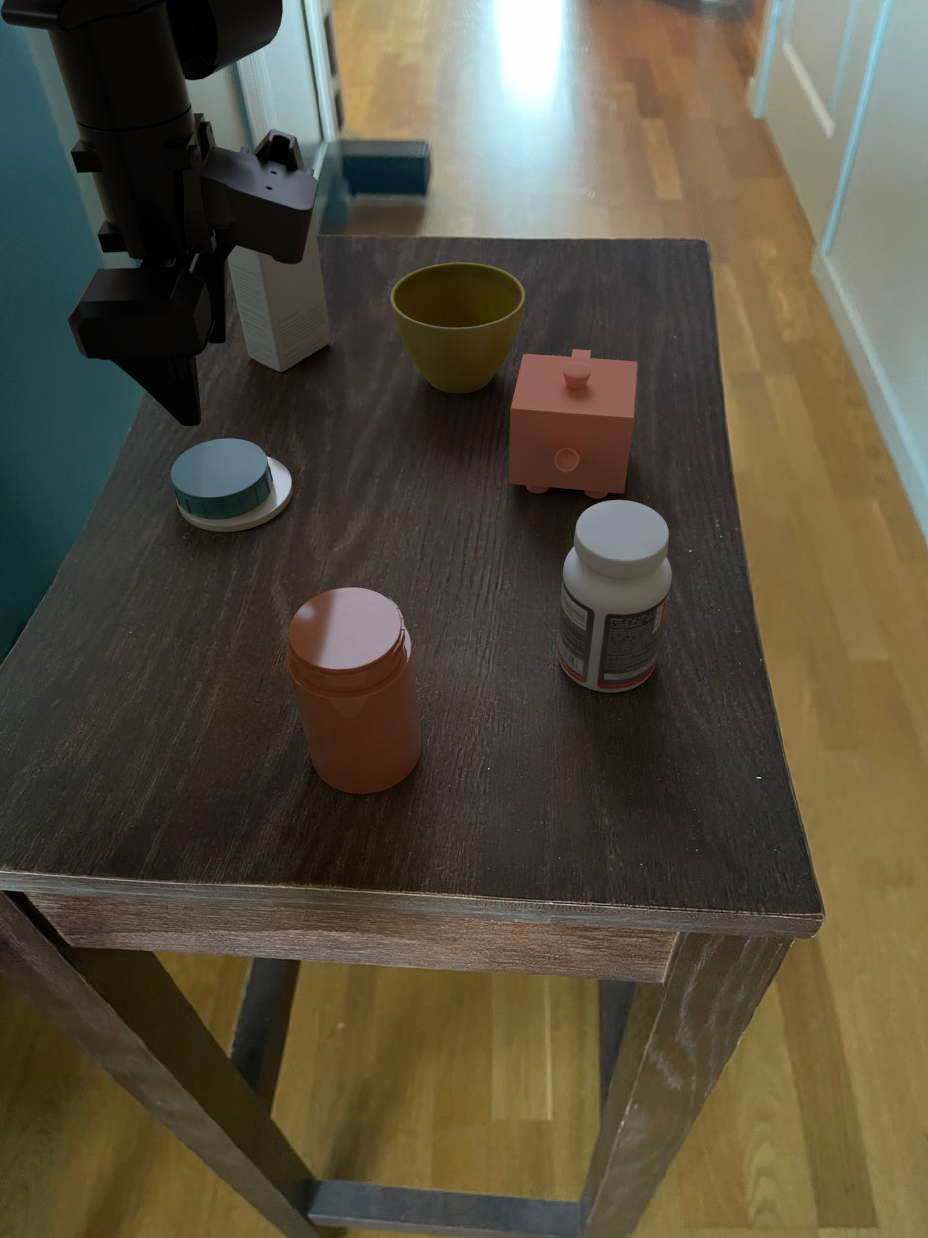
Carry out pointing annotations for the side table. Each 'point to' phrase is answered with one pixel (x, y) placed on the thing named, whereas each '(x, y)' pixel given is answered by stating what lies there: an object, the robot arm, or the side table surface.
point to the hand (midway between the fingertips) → (205, 381)
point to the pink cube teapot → (572, 423)
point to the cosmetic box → (281, 304)
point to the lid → (221, 478)
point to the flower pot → (458, 322)
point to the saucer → (258, 515)
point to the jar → (355, 689)
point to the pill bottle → (614, 596)
